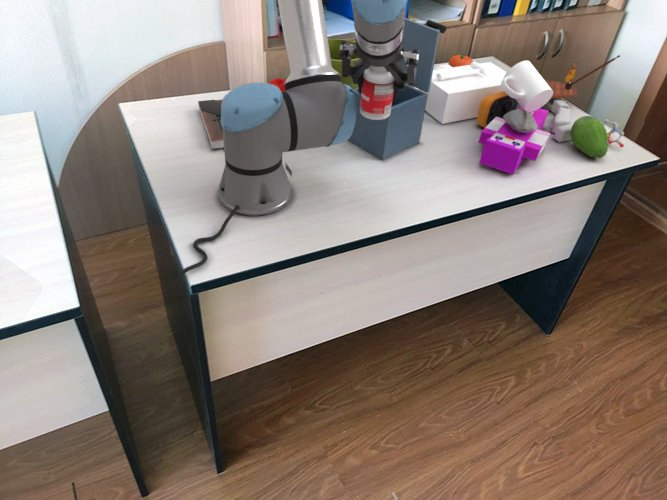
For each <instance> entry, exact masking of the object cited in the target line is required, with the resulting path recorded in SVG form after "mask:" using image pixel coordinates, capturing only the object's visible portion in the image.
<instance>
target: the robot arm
mask: <svg viewBox="0 0 667 500" xmlns="http://www.w3.org/2000/svg"><path fill="white" fill-rule="evenodd" d="M277 3H278V9H279V14H280V22H281V28H282V33H283V40H284V47H285V52H286V58H287V64H288V70H289V74H288V77H287V78H286V79H285V80H286V81H285V83H284V87H285V92H281V90H280V89H279V88H278V87H277V86H275V85H273V84H269V82H266V83H263V82H250V83H245V84H241V85H239V86H237V87H235V88H233V89H231V90H230V91H228V93H227V94H225V95H224V97H223V99H221V100H222V104H221V126H222V130H223V142H224V148H223V151H224V161H225V162H224V163H225V165H224V168H223V172H222V175H221V178H220V182H219V187H218V192H219V193H218V194H219V200H220V203H221V204H222V205H223V206H224V207H225V208H226V209H228V210H229V211H231V212H230V213H229V214H228V215H227V217H226V219H225V220H224V221H223V223H222V225H221V227H220V228H219V230H218V231H217V232H216V233H215V234H214V235H211V236H207V237H200V238H197V239H195V241H194V242H193V244H192V245H193V249H194V250H195V251H197V252H198V253H199V254H201V256H202V259H201V260H200V261H199V262H196V263H193V264H191V265H189V266H186V267H185V268H183V269H181V270H180V271H179V272H178V273H177V275H176V276H175V278H174V280H173V282H172V285H178V283H179V281H180V279H181V278H182V277H183V276H184V274H186V273H188V272H190V271H192V270H194V269H197V268H200V267H202V266H203V265H204V264H205V263H206V262H207V260H208V254H207V253H206V252H205V251H204V250H203V249H202V248H201V247H199V246H198V245H199V243H203V242H210V241H214V240H216V239H218V238H219V237H220V236H221V235H222V234H223V232H224V230H225V229H226V227H227V225H228V223H229V222H230V221H231V219H232V218H233V217H234V215H235V214H239V215H243V216H251V217H253V216H255V217H257V216H265V215H270V214H273V213H276V212H278V211H280V210H282V209H283V208H284V207H286V206H287V205H288V203H289V202H290V201H291V196H292V188H291V187H292V186H291V182H290V180H289V178H288V175H287V172H288V174H289V175H290V177H291V178H292V177H293V171H292V169H291V168H290V167H289V165H288V164H287V162H285V163H284V164H285V165H284V164H283V153H288V152H296V151H302V150H303V151H304V150H308V149H309V150H310V149H317V148H323V147H325V148H328V147H331V146H335V145H339V144H340V145H341V144H344V143H346V142H347V141H349V140H348V139H349V138H350V136H351V135H352V132H353V129H354V126H355V121H356V99H355V95H354V93H353V90H352V88H351V87H350V86H348V85H345V84H343V85H342V80H341V74H340V73H338V72H337V71H336V70H334V69H333V68H332V64H331V58H330V51H329V45H328V40H329V38H328V32H327V26H326V18H325V13H324V6H323V0H277ZM350 3H351V7H352V14H353V15H352V16H353V28H354V37H355V38H354V40H355V42H356V43H355V45H352V44H349V43H348V42H347V41H345V40H346V39H342V41H341V45H340V51H339V56H340V58H341V59H342V76H343V77H348V76H351V77H352V79H353V83H354V84H358V89H359V94H361V92H362V82H363V74H364V71H365V70H366V69H368V68H369V67H370V66H375V67H384V68H385V69H386V71H387V72H390V73H391V75H392V76H393V78H394V79H395V83H394V93H393V99H397V95H398V89H399V90H404V87H405V84H406V83H408V85H410V86H414V84H415V78H416V67H417V65H418V60H419V54H420V51H419V50H417V49H414V50H413V51H412V52H410V51H409V52H406V51H405V49H404V48H403V46H402V43H403V33H404V23H405V18H406V11H407V4H408V0H350ZM353 53H354V54H355V55H356V56H358V57H359V59H358V60H357V62H354V67H353V66H350V64H351V56H352V55H353ZM403 59H404V60H405V62H406V66H408V67H407V72H406V71H405V69H404V67H403V66H402V64H401V62H400V61H402V60H403ZM284 166H285V167H284ZM286 171H287V172H286Z"/></svg>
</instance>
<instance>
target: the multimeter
mask: <svg viewBox="0 0 667 500" xmlns="http://www.w3.org/2000/svg"><path fill="white" fill-rule="evenodd" d="M519 107H520V104H519V103H518V102H517V100H516V99H514V98H512V97H510V96H509V95H507V94H506V93H505V92H504V91H503V92H500V93H496V94H493V95H489V96H487V97H485V98H484V99H483V100H482V102H481V104H480V108H479V112H478V116H477V117H476V122H477V125H478V126H480V127H482V128H483V129H485V128H486V127H487V126H488V124H489V123H490V122H491V121H492V120H493V119H494V118H495V117H499V118H502V119H504V118H503V116H504V115H505V114H506V113H508V112H510V111H512V110H516V109H518V108H519Z"/></svg>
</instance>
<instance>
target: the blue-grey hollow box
mask: <svg viewBox="0 0 667 500" xmlns="http://www.w3.org/2000/svg"><path fill="white" fill-rule="evenodd" d="M353 93H354V95H355V99H356V121H355V126H354V129H353V132H352V135H351V136H350V138H349V139H348V140H347V141H348V142H350V143H352V144H354V145H356V146H357V147H359V148H360V149H362V150H364V151H365V152H368V153H369V154H371V155H372V156H374V157H376V158H378V159H379V160H381V161H384V160H386V159H389V158H391V157H393V156H395V155H397V154H400V153H402V152H404V151H406V150H408V149H410V148H412V147H414V146H416V145H418V144H420V139H421V135H422V129H423V123H424V120H425V119H424V118H425V113H426V111H425V108H426V102H427V97H428V94H426V93H424V92H422V91H419V90H417V89H415V88H413V87H411V86H409V85H406V84H405V87H404V90H399V89H398V95H397V99H392V107H391V113H390V115H389V117H387V118H386V119H382V120H372V119H368V118H366V117H364V116H363V115H362V114H361V113H360V102H361V94H359V89H358V88H356V89H353ZM393 93H394V92H393Z"/></svg>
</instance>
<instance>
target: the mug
mask: <svg viewBox="0 0 667 500" xmlns="http://www.w3.org/2000/svg"><path fill="white" fill-rule="evenodd" d="M506 72H507V73H506V74H505V76H504V78H503V80H502V82H501V86H502V89H503V90H504V92H505V93H506V94H507V95H509V96H510V97H512V98H514V99H516V100H517V102H518V103H519V104H520V106H521V107H522V108H523V110H526V111H528V112H529V113H531V114H532V113H534V112H535V111H536V110H538V109H539V108H540V109H542V107H544V106H545V105H546V104H547V103H548V102H549V101H550V100H551V99H552V98H551V97H552V95H553V90H552V89H551V88H550V87H549V85H548V84H547V83H546V81H545V80H546V79H544V78H543V76H542V75H541V74H540V72H539V71H538V70H537V69H536V67H535V66H534V65H533V64H532V63H531V61H530V60H522V61H520V62H517V63H516V64H514V65H513V66H512V67H511V68H509V69H508V70H507V71H506Z"/></svg>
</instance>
